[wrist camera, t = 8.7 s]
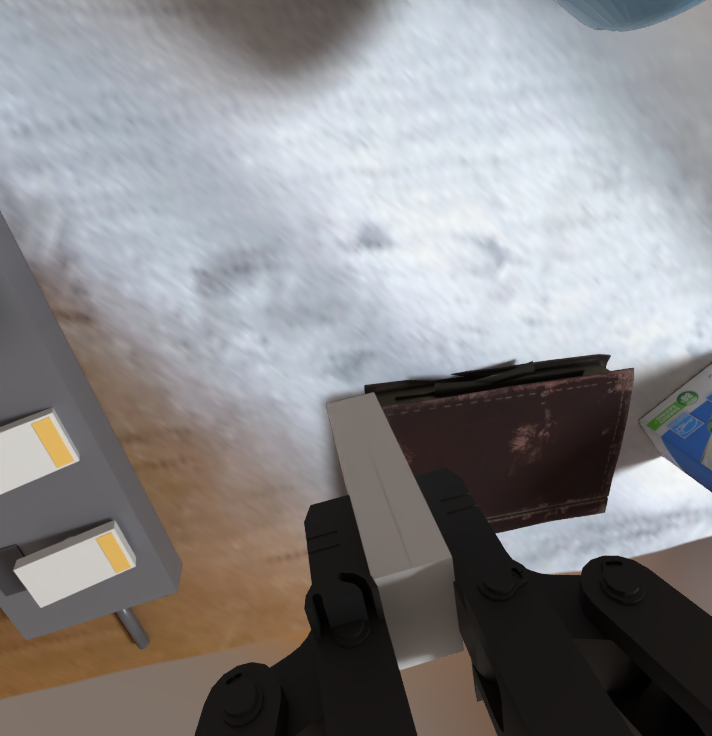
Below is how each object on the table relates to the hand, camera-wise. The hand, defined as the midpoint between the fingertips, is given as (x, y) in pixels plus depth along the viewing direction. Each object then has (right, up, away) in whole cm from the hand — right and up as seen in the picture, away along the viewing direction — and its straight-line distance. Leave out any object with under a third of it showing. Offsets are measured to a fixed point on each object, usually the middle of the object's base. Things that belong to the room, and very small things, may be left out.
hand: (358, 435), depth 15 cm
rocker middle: (-26, -4, +21) cm, 33 cm away
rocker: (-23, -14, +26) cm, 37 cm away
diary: (+13, -5, +36) cm, 39 cm away
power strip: (-27, -7, +27) cm, 39 cm away
